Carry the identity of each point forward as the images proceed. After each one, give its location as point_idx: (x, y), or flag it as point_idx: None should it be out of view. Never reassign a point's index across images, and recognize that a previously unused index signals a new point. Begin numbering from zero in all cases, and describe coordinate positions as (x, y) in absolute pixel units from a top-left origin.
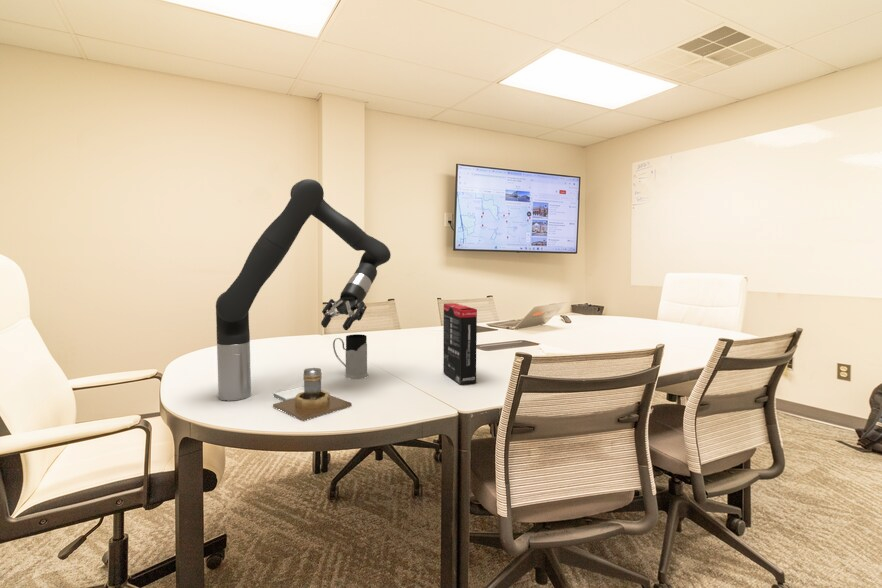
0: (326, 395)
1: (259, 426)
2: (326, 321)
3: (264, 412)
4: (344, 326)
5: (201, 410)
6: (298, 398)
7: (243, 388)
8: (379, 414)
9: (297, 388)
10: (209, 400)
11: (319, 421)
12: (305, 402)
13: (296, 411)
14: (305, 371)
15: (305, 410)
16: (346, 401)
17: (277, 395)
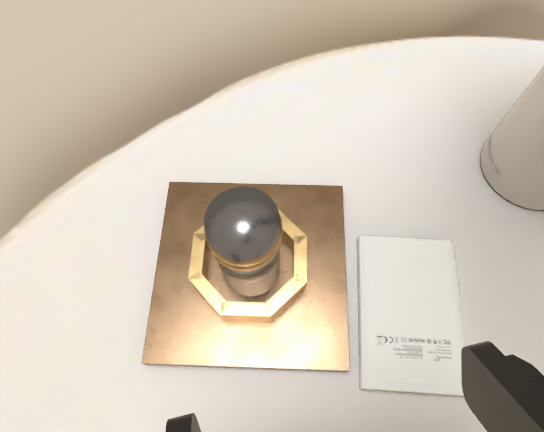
0: (205, 288)
1: (234, 107)
2: (498, 409)
3: (318, 157)
4: (168, 420)
5: (453, 72)
6: None
7: (498, 152)
8: (3, 374)
9: (452, 331)
10: None
11: (133, 213)
12: None
13: None
14: (243, 187)
15: None
16: (169, 361)
17: (421, 239)
